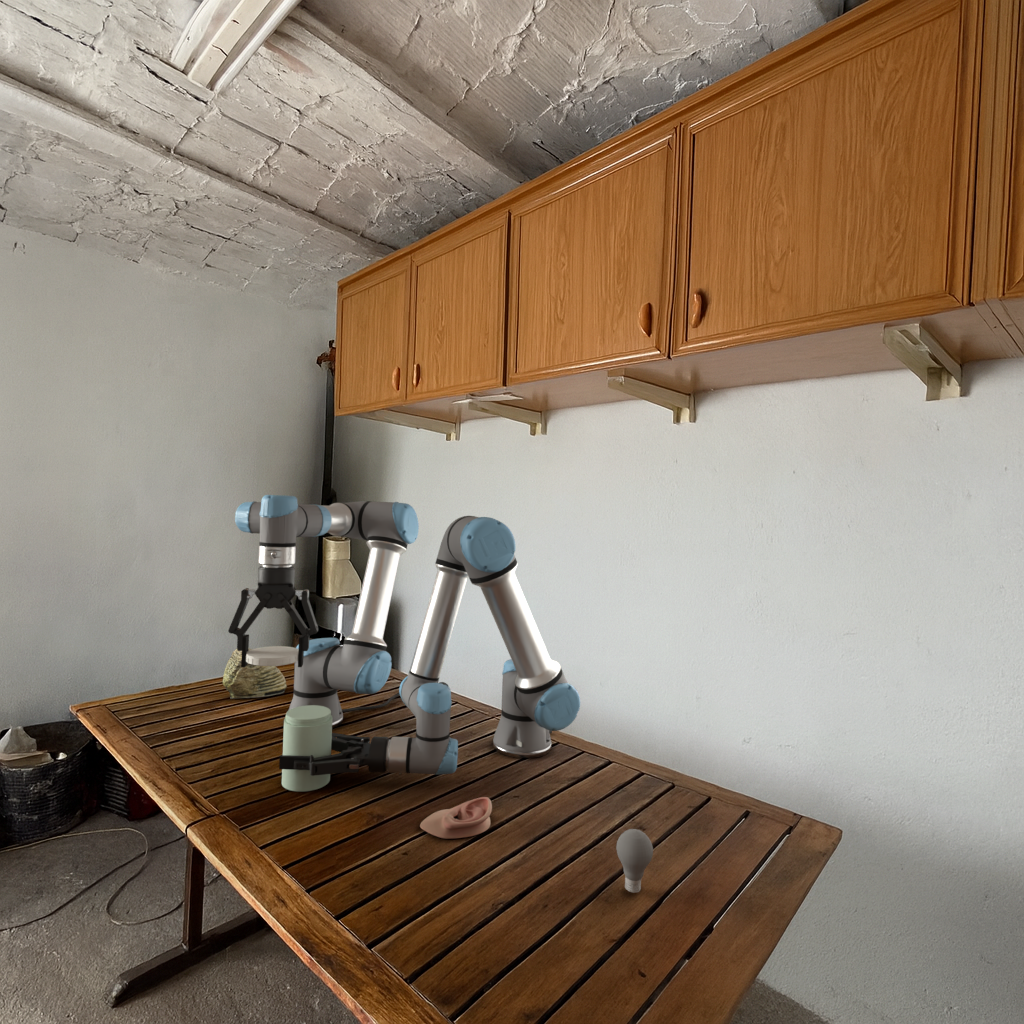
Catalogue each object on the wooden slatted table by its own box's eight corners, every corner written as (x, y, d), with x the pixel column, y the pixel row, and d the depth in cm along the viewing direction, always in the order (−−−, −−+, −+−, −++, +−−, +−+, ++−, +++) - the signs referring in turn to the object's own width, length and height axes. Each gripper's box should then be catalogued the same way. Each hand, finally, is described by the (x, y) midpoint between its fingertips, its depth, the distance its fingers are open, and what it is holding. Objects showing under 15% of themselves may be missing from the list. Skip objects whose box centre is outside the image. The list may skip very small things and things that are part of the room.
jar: (332, 788, 138) (335, 717, 138) (282, 794, 134) (285, 722, 134) (327, 768, 147) (330, 703, 147) (280, 774, 144) (283, 706, 143)
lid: (299, 652, 146) (300, 645, 146) (300, 665, 135) (300, 657, 135) (247, 654, 142) (248, 646, 142) (244, 667, 131) (244, 659, 131)
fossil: (218, 695, 195) (220, 647, 195) (278, 685, 208) (279, 640, 207) (228, 703, 189) (230, 653, 188) (289, 692, 201) (290, 645, 201)
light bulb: (610, 879, 108) (613, 822, 108) (644, 879, 109) (647, 822, 109) (619, 902, 102) (622, 840, 102) (655, 901, 103) (658, 840, 103)
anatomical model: (414, 813, 120) (434, 787, 131) (414, 834, 120) (433, 806, 131) (482, 823, 117) (496, 795, 129) (481, 844, 118) (495, 815, 129)
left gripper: (214, 565, 132) (210, 670, 133) (330, 568, 137) (326, 670, 137) (224, 562, 140) (220, 661, 140) (333, 565, 144) (330, 661, 144)
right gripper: (378, 795, 130) (269, 792, 129) (395, 751, 153) (302, 748, 152) (380, 759, 130) (271, 755, 129) (396, 720, 153) (303, 717, 152)
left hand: (272, 665), depth 139 cm, fingers closed on lid, 11 cm apart
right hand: (288, 751), depth 141 cm, fingers closed on jar, 10 cm apart
